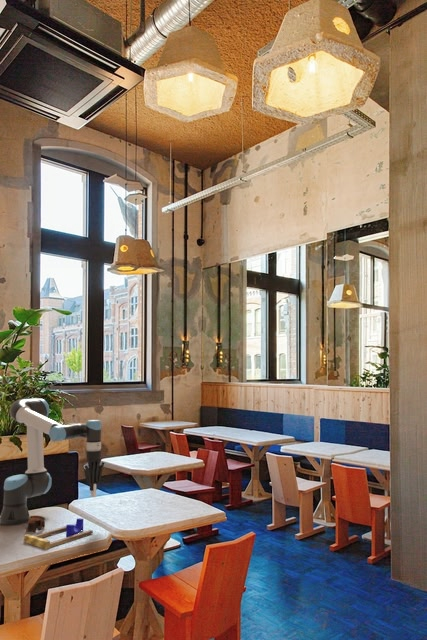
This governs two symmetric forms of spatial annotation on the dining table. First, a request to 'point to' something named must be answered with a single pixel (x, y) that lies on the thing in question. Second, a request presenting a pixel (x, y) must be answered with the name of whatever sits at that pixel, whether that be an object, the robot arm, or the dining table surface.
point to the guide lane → (47, 544)
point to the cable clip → (74, 528)
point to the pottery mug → (35, 523)
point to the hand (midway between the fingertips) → (93, 496)
